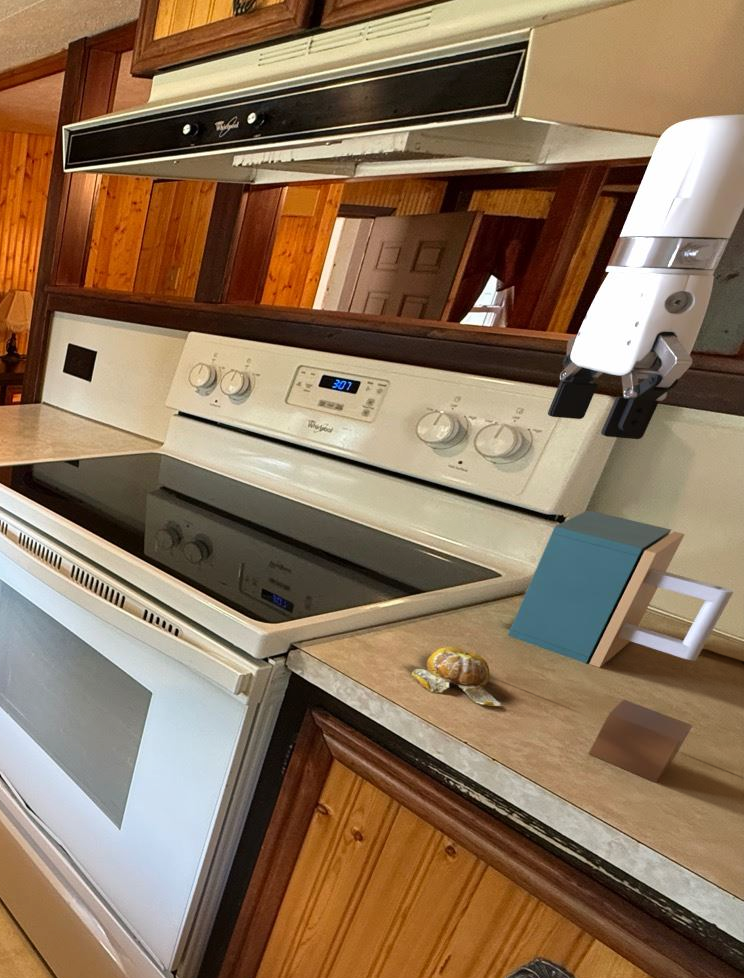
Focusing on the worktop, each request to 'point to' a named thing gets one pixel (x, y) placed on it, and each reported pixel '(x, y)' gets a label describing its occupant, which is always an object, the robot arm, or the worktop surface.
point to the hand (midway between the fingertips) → (591, 426)
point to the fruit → (457, 674)
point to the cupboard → (581, 582)
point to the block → (639, 740)
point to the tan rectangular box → (640, 596)
